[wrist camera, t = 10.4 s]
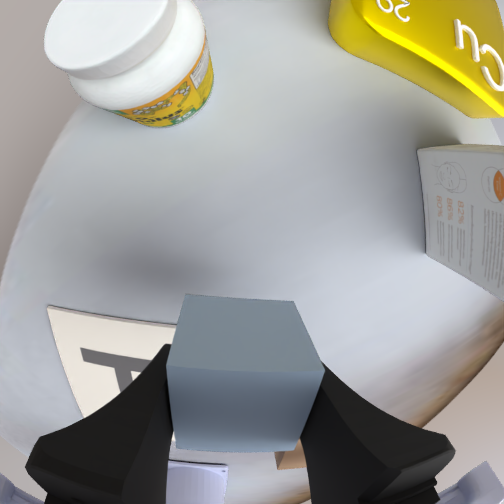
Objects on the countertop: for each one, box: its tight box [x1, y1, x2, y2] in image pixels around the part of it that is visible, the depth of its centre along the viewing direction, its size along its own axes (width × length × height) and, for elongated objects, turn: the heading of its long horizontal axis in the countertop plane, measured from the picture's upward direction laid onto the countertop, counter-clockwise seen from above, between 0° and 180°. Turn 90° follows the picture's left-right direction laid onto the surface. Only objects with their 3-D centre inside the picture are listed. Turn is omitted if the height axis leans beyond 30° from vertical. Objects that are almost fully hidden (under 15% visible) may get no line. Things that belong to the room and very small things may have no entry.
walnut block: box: [274, 438, 307, 470], centre depth 20 cm, size 5×5×5 cm
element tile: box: [328, 0, 504, 118], centre depth 10 cm, size 15×15×5 cm
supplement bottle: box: [44, 0, 214, 128], centre depth 9 cm, size 5×5×10 cm
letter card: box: [47, 306, 177, 441], centre depth 19 cm, size 14×12×1 cm
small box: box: [417, 144, 504, 302], centre depth 12 cm, size 8×6×10 cm
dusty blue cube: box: [166, 294, 325, 452], centre depth 10 cm, size 4×4×4 cm
